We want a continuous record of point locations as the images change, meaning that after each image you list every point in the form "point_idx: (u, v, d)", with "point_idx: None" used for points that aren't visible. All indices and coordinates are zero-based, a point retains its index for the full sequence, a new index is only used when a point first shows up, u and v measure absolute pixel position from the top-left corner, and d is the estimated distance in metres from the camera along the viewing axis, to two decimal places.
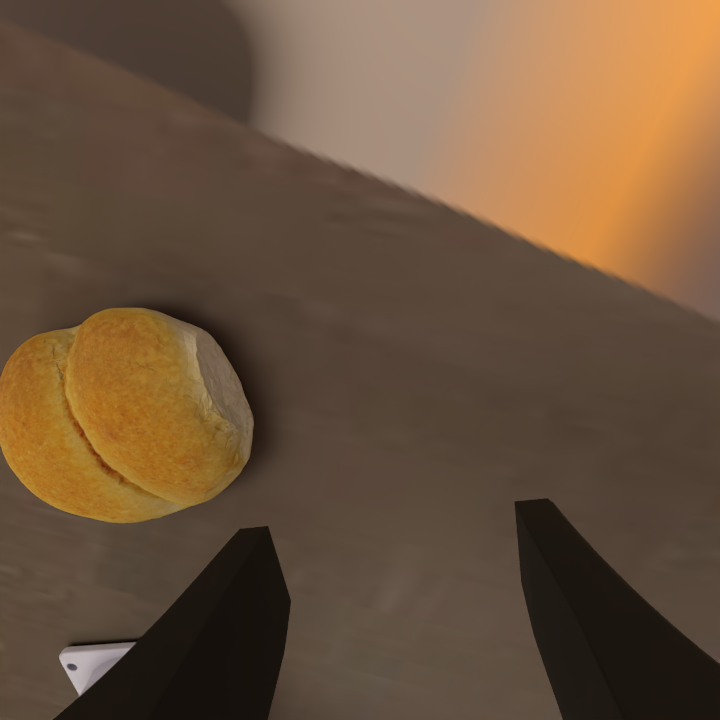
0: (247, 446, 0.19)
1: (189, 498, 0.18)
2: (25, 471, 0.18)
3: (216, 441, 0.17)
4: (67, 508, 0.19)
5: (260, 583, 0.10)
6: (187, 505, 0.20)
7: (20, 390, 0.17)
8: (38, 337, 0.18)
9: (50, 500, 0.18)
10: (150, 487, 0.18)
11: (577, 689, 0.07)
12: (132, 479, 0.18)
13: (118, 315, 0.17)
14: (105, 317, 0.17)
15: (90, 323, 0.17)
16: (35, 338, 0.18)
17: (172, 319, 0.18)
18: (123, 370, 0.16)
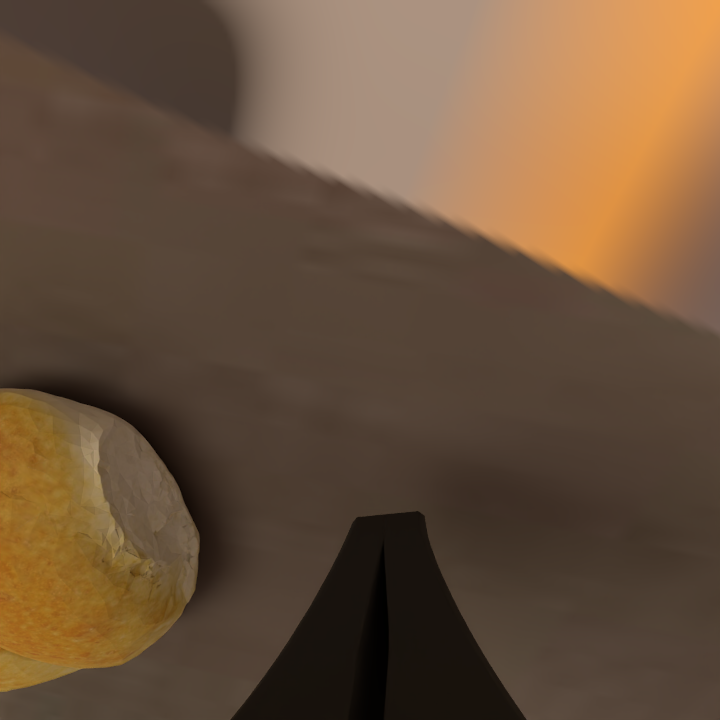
0: (188, 581, 0.13)
1: (98, 667, 0.12)
2: None
3: (133, 594, 0.12)
4: None
5: None
6: None
7: None
8: None
9: None
10: (35, 659, 0.12)
11: None
12: (7, 649, 0.12)
13: None
14: None
15: None
16: None
17: (67, 407, 0.12)
18: None
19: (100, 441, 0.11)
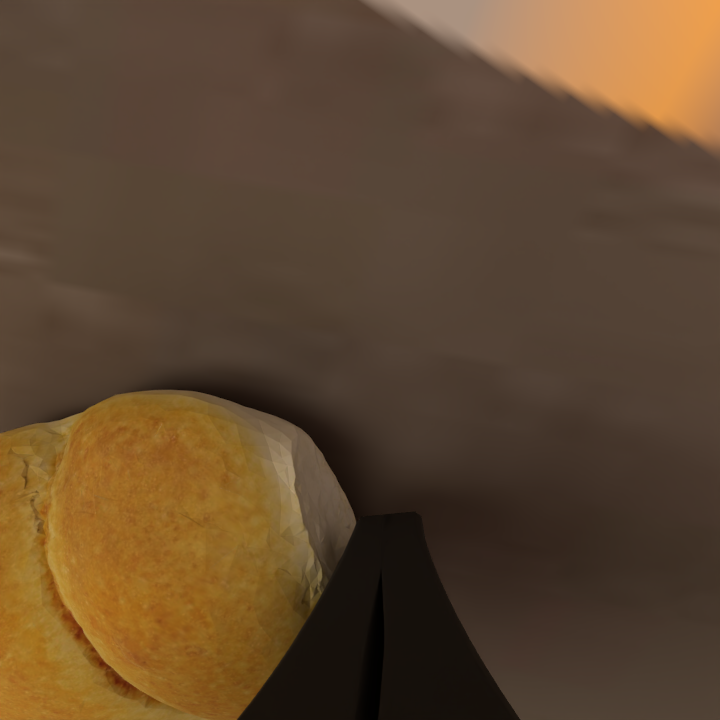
0: None
1: None
2: None
3: None
4: None
5: None
6: None
7: None
8: (0, 442, 0.10)
9: None
10: None
11: None
12: None
13: (147, 412, 0.09)
14: (123, 417, 0.09)
15: (94, 426, 0.09)
16: None
17: (244, 413, 0.10)
18: (159, 530, 0.08)
19: (291, 454, 0.09)
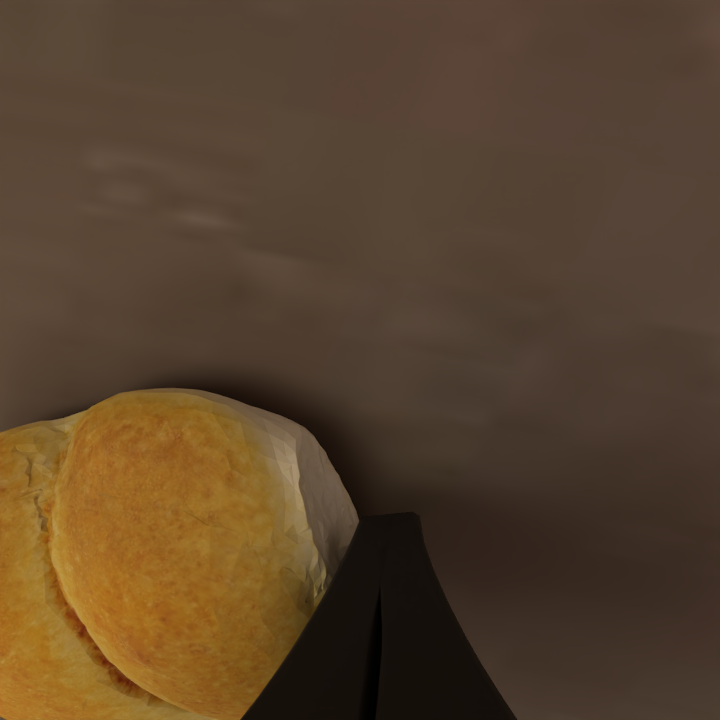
0: None
1: None
2: None
3: None
4: None
5: None
6: None
7: None
8: (3, 440, 0.10)
9: None
10: None
11: None
12: None
13: (151, 410, 0.09)
14: (128, 416, 0.09)
15: (98, 424, 0.09)
16: None
17: (249, 412, 0.10)
18: (165, 529, 0.08)
19: (295, 453, 0.09)
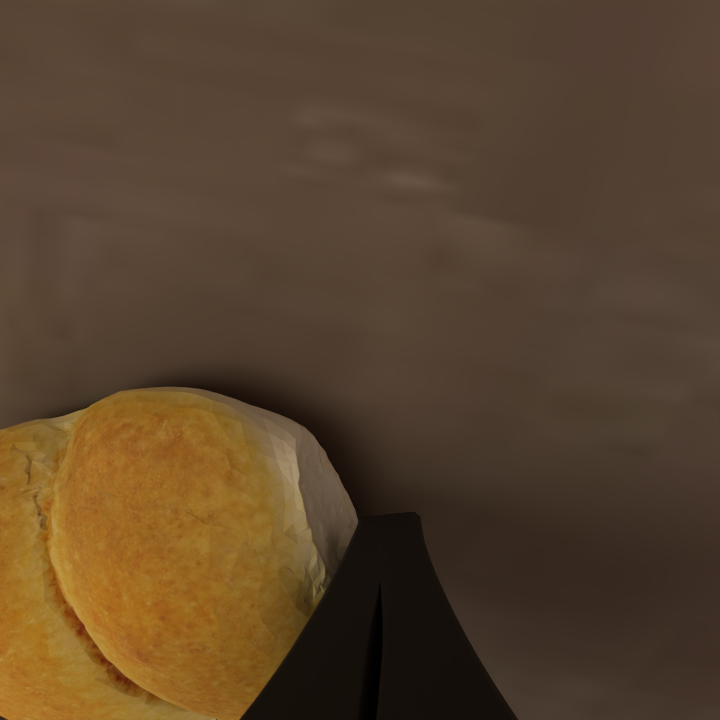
0: None
1: None
2: None
3: None
4: None
5: None
6: None
7: None
8: (2, 437, 0.10)
9: None
10: (204, 715, 0.10)
11: None
12: None
13: (151, 408, 0.09)
14: (128, 414, 0.09)
15: (98, 422, 0.09)
16: None
17: (248, 411, 0.10)
18: (164, 527, 0.08)
19: (295, 452, 0.09)
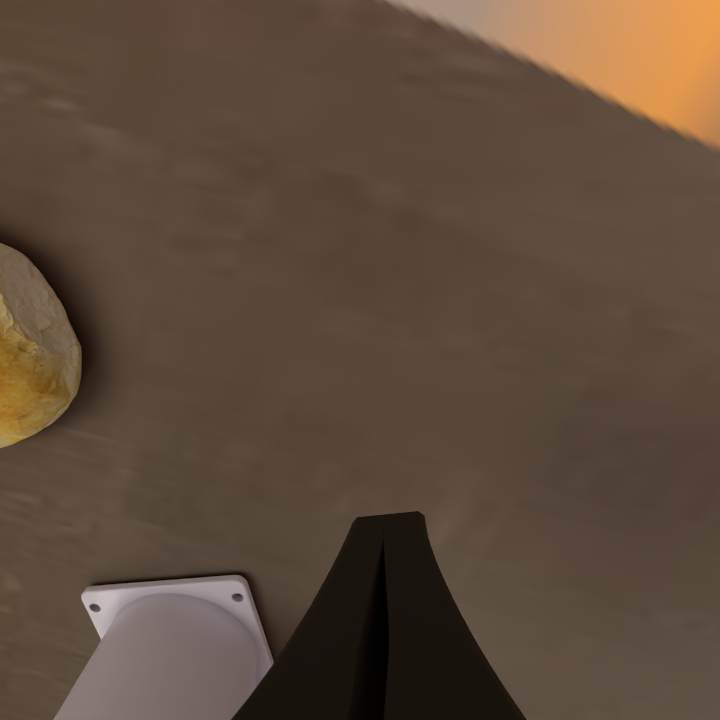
0: (70, 376, 0.19)
1: (0, 425, 0.18)
2: None
3: (20, 363, 0.17)
4: None
5: None
6: (15, 439, 0.20)
7: None
8: None
9: None
10: None
11: None
12: None
13: None
14: None
15: None
16: None
17: None
18: None
19: None
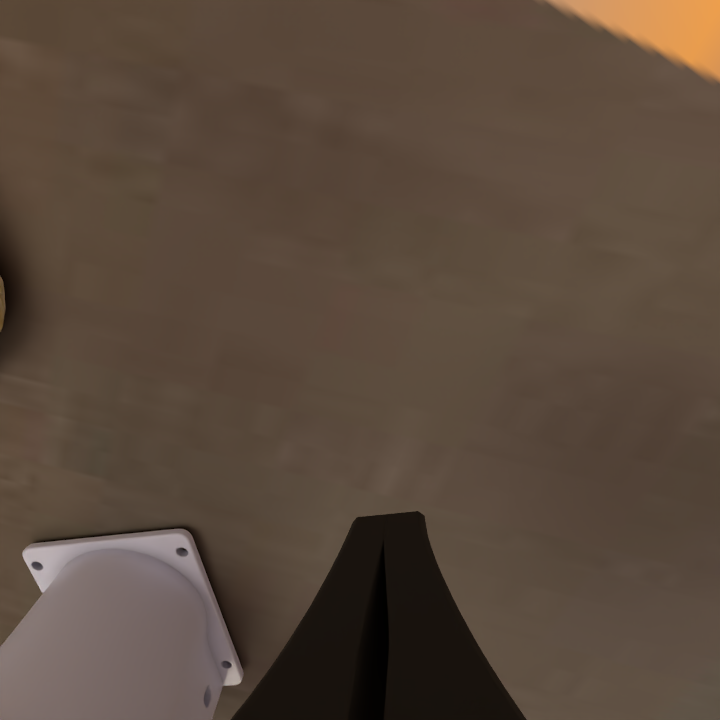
0: None
1: None
2: None
3: None
4: None
5: None
6: None
7: None
8: None
9: None
10: None
11: None
12: None
13: None
14: None
15: None
16: None
17: None
18: None
19: None
